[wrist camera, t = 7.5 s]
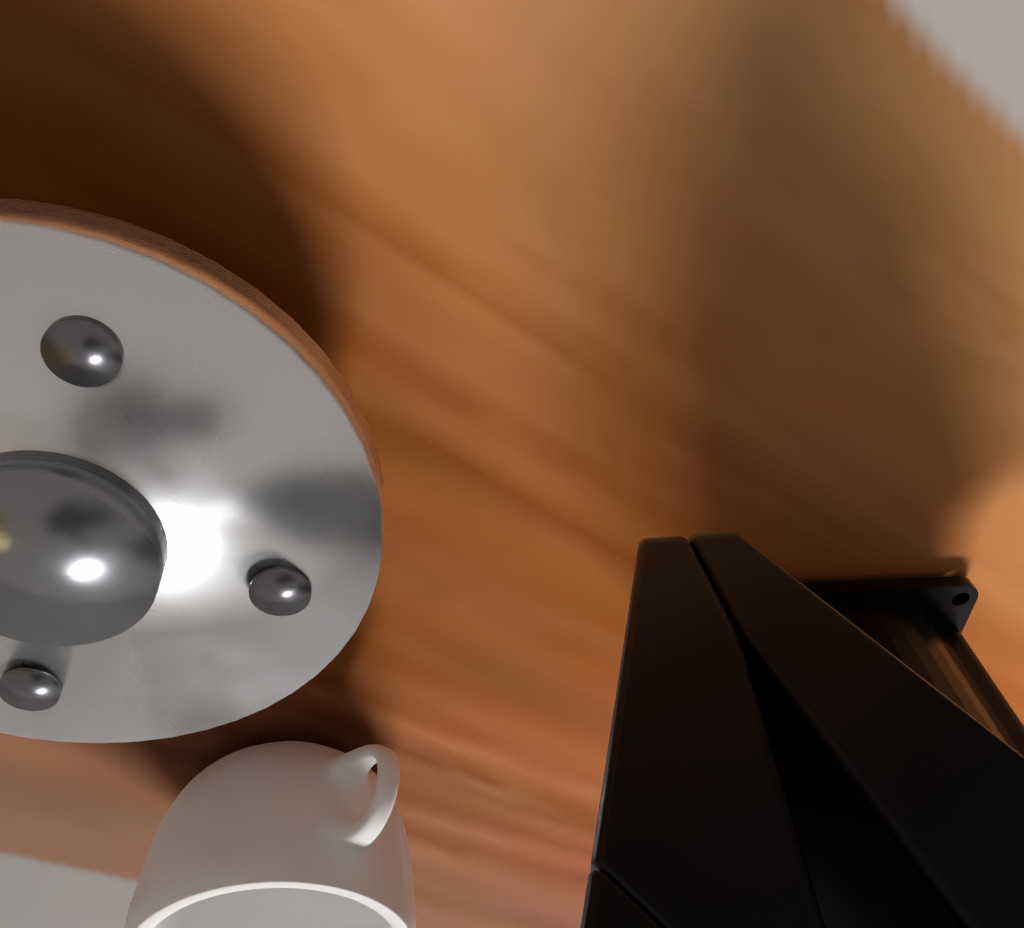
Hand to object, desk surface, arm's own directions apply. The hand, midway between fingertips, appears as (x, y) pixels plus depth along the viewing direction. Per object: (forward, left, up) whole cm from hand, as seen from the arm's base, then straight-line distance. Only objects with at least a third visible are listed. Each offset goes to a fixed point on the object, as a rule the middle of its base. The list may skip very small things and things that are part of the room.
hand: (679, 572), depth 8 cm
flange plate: (+10, +5, -9) cm, 15 cm away
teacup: (+6, +19, -12) cm, 23 cm away
